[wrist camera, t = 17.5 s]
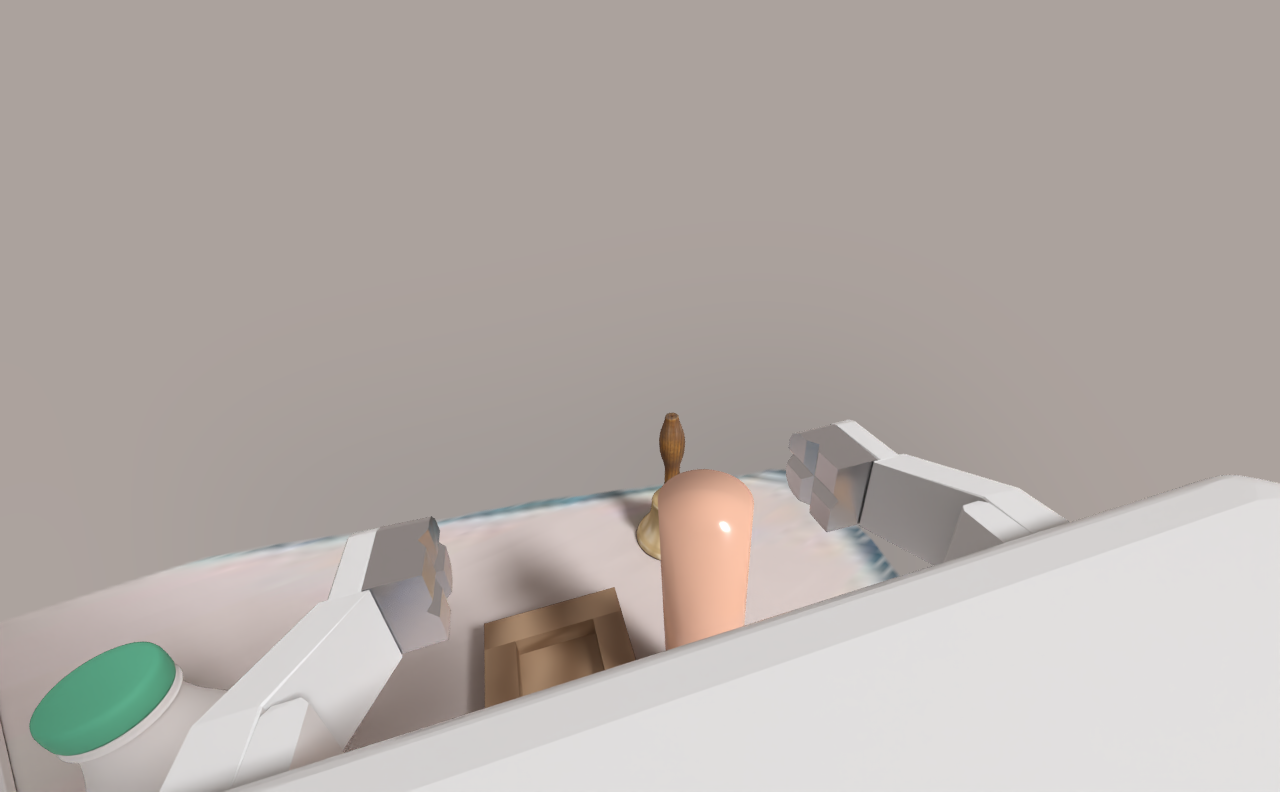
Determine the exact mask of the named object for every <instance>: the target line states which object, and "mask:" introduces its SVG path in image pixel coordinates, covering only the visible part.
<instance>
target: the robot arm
mask: <svg viewBox="0 0 1280 792" xmlns="http://www.w3.org/2000/svg"><path fill="white" fill-rule="evenodd" d="M789 449H790V450H791V452H792V453H793V455H792V456H791V458H790V459H789V461H788V462H787V466H786V477H787V481H788V485H789V487H790V489H791V491H792V493H793V494H794V495H795V496H796V498H797V499H798V500H799V501H802V502H804V503H806V504H809V505H810V514H811V515H812V516H813V517H814V519H815V520H816V521H817V522H818V523H819V524H820V525H821V527H822V528H823V529H824V530H825V531H826V532H830V531H834V530H838V529H842V528H846V527H850V526H854V525H858V524H859V526H860V527H862V528H864V529H866V530H868V531H870V532H872V533H874V534H875V535H877V536H879V537H881V538H883V539H885V540H887V541H889V542H891V543H892V544H894V545H896V546H898V547H900V548H902V549H904V550H906V551H908V552H909V553H911V554H913V555H915V556H917V557H919V558H921V559H923V560H924V561H926V562H928V563H930V564H932V565H934V566H931V567H928V568H925V569H921V570H918V571H915V572H912V573H909V574H906V575H902V576H899V577H896V578H893V579H890V580H887V581H883V582H880V583H877V584H874V585H871V586H868V587H865V588H861V589H858V590H855V591H852V592H849V593H846V594H843V595H839V596H836V597H833V598H830V599H827V600H824V601H821V602H818V603H814V604H811V605H808V606H805V607H802V608H799V609H796V610H792V611H789V612H786V613H783V614H780V615H777V616H774V617H770V618H767V619H764V620H761V621H758V622H755V623H752V624H748V625H745V626H742V627H739V628H736V629H733V630H730V631H726V632H723V633H720V634H717V635H714V636H711V637H708V638H704V639H701V640H698V641H695V642H692V643H689V644H685V645H682V646H679V647H676V648H673V649H670V650H667V651H663V652H660V653H657V654H654V655H651V656H648V657H645V658H641V659H638V660H635V661H632V662H629V663H626V664H623V665H619V666H616V667H613V668H610V669H607V670H604V671H601V672H597V673H594V674H591V675H588V676H585V677H582V678H579V679H575V680H572V681H569V682H566V683H563V684H560V685H557V686H553V687H550V688H547V689H544V690H541V691H538V692H535V693H532V694H528V695H525V696H522V697H519V698H516V699H513V700H510V701H506V702H503V703H500V704H497V705H494V706H491V707H488V708H484V709H481V710H478V711H475V712H472V713H469V714H466V715H462V716H459V717H456V718H453V719H450V720H447V721H444V722H440V723H437V724H434V725H431V726H428V727H425V728H422V729H418V730H415V731H412V732H409V733H406V734H403V735H400V736H396V737H393V738H390V739H387V740H384V741H381V742H378V743H374V744H371V745H368V746H365V747H362V748H359V749H356V750H352V751H349V752H346V753H345V752H344V751H343V750H344V748H345V747H346V745H347V744H348V742H349V740H350V739H351V737H352V736H353V734H354V733H355V731H356V729H357V728H358V726H359V725H360V723H361V722H362V720H363V718H364V717H365V715H366V714H367V712H368V711H369V709H370V707H371V706H372V704H373V703H374V701H375V700H376V698H377V696H378V695H379V693H380V692H381V690H382V689H383V687H384V685H385V684H386V682H387V681H388V679H389V677H390V676H391V674H392V673H393V671H394V670H395V668H396V666H397V665H398V663H399V662H400V660H401V659H402V657H403V656H402V654H404V653H407V652H411V651H414V650H417V649H420V648H424V647H427V646H430V645H433V644H436V643H440V642H443V641H446V640H449V629H450V614H451V610H450V607H449V604H448V602H447V598H448V596H449V595H450V594H451V592H452V570H451V563H450V559H449V555H448V552H447V549H446V546H444V545H442V544H441V543H439V535H440V530H439V527H438V525H437V522H436V520H435V518H433V517H432V516H431V517H426V518H422V519H417V520H412V521H407V522H402V523H398V524H393V525H388V526H383V527H380V528H375V529H371V530H366V531H361V532H357V533H353V534H352V535H351V536H350V537H349V538H348V539H347V542H346V545H345V548H344V551H343V554H342V557H341V560H340V563H339V566H338V569H337V572H336V575H335V578H334V582H333V585H332V588H331V591H330V594H329V597H328V600H327V601H323V602H319V603H318V604H317V605H316V606H315V607H314V608H313V609H312V610H311V611H310V612H309V613H308V614H307V615H306V616H305V617H303V618H302V619H301V620H300V621H299V622H298V623H297V624H296V625H295V626H294V627H293V628H292V629H291V630H290V631H289V632H288V633H287V634H286V635H285V636H284V637H283V638H282V639H281V640H280V641H279V642H278V643H277V644H276V645H275V646H274V647H273V648H272V649H271V650H270V651H269V652H267V653H266V654H265V655H264V656H263V657H262V658H261V659H260V660H259V661H258V662H257V663H256V664H255V665H254V666H253V667H252V668H251V669H250V670H249V671H248V672H247V673H246V674H245V675H244V676H243V677H242V678H241V679H240V680H239V681H238V682H237V683H236V684H235V685H234V686H233V687H232V688H230V689H229V690H228V691H227V692H226V693H225V694H224V695H223V696H222V697H221V698H220V699H219V700H218V701H217V702H216V703H215V704H214V705H213V706H212V707H211V708H210V709H209V710H208V711H207V712H206V713H205V714H204V715H203V716H202V717H201V718H200V719H199V720H198V721H197V722H196V723H195V724H193V725H192V726H191V728H190V730H189V732H188V734H187V736H186V738H185V740H184V742H183V744H182V747H181V749H180V751H179V753H178V755H177V757H176V759H175V761H174V763H173V765H172V767H171V769H170V771H169V773H168V775H167V777H166V779H165V781H164V783H163V785H162V787H161V789H160V792H1280V483H1276V482H1271V481H1266V480H1262V479H1257V478H1250V477H1245V476H1239V475H1221V476H1215V477H1211V478H1207V479H1203V480H1200V481H1197V482H1194V483H1191V484H1188V485H1185V486H1182V487H1179V488H1176V489H1172V490H1170V491H1166V492H1163V493H1160V494H1157V495H1154V496H1151V497H1147V498H1144V499H1141V500H1138V501H1135V502H1132V503H1129V504H1126V505H1123V506H1119V507H1116V508H1113V509H1110V510H1107V511H1104V512H1101V513H1098V514H1095V515H1092V516H1088V517H1085V518H1082V519H1079V520H1076V521H1072V522H1069V521H1068V520H1066V519H1065V518H1063V517H1061V516H1060V515H1059V514H1057V513H1055V512H1054V511H1052V510H1051V509H1049V508H1048V507H1046V506H1045V505H1043V504H1042V503H1040V502H1039V501H1037V500H1036V499H1034V498H1033V497H1031V496H1030V495H1028V494H1027V493H1025V492H1024V491H1022V490H1021V489H1019V488H1017V487H1014V486H1010V485H1007V484H1004V483H1000V482H997V481H994V480H990V479H987V478H983V477H980V476H977V475H974V474H970V473H967V472H963V471H960V470H957V469H953V468H950V467H946V466H943V465H940V464H937V463H933V462H930V461H927V460H923V459H920V458H917V457H913V456H910V455H906V454H901V455H898V454H897V453H895V452H894V451H893V450H891V449H890V448H889V447H887V446H886V445H885V444H884V443H882V442H881V441H880V440H878V439H877V438H876V437H874V436H873V435H872V434H871V433H869V432H868V431H867V430H865V429H864V428H863V427H861V426H860V425H858V423H856V422H855V421H852V420H845V421H841V422H837V423H833V424H830V425H827V426H823V427H819V428H814V429H810V430H806V431H802V432H797V433H794V434H792V436H791V438H790V440H789ZM0 792H16V788H15V784H14V779H13V775H12V770H11V766H10V762H9V757H8V753H7V749H6V744H5V740H4V736H3V731H2V727H1V723H0Z"/></svg>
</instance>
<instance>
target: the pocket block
mask: <svg viewBox="0 0 1280 792" xmlns="http://www.w3.org/2000/svg"><path fill="white" fill-rule="evenodd" d="M635 660H636V659H635V656H634V652H633V649H632V645H631V642H630V639H629V635H628V632H627V628H626V625H625V622H624V618H623V615H622V611H621V608H620V605H619V601H618V598H617V594H616V591H615V588H614V587H613V588H610V589H606V590H603V591H599V592H596V593H592V594H588V595H585V596H581V597H578V598H574V599H571V600H567V601H564V602H560V603H556V604H553V605H549V606H546V607H542V608H539V609H535V610H532V611H528V612H524V613H521V614H517V615H514V616H510V617H507V618H503V619H500V620H496V621H492V622H489V623H485V624H484V662H485V708H488V707H491V706H494V705H497V704H500V703H503V702H506V701H510V700H513V699H516V698H519V697H522V696H525V695H528V694H532V693H535V692H538V691H541V690H544V689H547V688H550V687H553V686H557V685H560V684H563V683H566V682H569V681H572V680H575V679H579V678H582V677H585V676H588V675H591V674H594V673H597V672H601V671H604V670H607V669H610V668H613V667H616V666H619V665H623V664H626V663H629V662H632V661H635Z"/></svg>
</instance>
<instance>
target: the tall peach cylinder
mask: <svg viewBox="0 0 1280 792" xmlns="http://www.w3.org/2000/svg"><path fill="white" fill-rule="evenodd" d="M753 509H754V501H753V496H752V494H751V492H750V490H749V489H748V488H747V486H746V485H745V484H744V483H743V482H741V481H740V480H739V479H737V478H735V477H734V476H732V475H729V474H727V473H724V472H720V471H715V470H708V469H699V470H691V471H686V472H683V473H680V474H678V475H676V476H674V477H672V478H671V479H669V480H668V481H667V482H666V483H665V484H664V485H663V486H662V488H661V490H660V492H659V495H658V516H659V535H660V554H661V573H662V592H663V611H664V631H665V650H666V651H667V650H670V649H673V648H676V647H679V646H682V645H685V644H689V643H692V642H695V641H698V640H701V639H704V638H708V637H711V636H714V635H717V634H720V633H723V632H726V631H730V630H733V629H736V628H739V627H742V626H744V622H745V610H746V597H747V584H748V572H749V559H750V547H751V534H752V521H753Z"/></svg>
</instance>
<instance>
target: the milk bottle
mask: <svg viewBox="0 0 1280 792" xmlns="http://www.w3.org/2000/svg"><path fill="white" fill-rule="evenodd" d="M226 692H227V690H221V689H213V688H205V687H199V686H196V685H193V684H190V683H188V682H185V681H183V673H182V670H181V668H180V667H179V666H178V665H176V664H174V661H173V660H172V659H171V657H170V656H169V655H168V654H167V653H166V652H165V651H164V650H163V649H162V648H161V647H160V646H158V645H156V644H153V643H150V642H134V643H129V644H126V645H122V646H119V647H116V648H114V649H111V650H109V651H106V652H104V653H102V654H100V655H98V656H96V657H94V658H92V659H91V660H89V661H87V662H86V663H84V664H82V665H81V666H79V667H78V668H76V669H75V670H74V671H72V672H71V673H70V674H68V675H67V676H66V677H65V678H63V679H62V680H61V681H60V682H59V683H58V684H56V685H55V686H54V687H53V688H52V689H51V690H50V691H49V692H48V694H47V695H46V696H45V697H44V698H43V699H42V701H41V702H40V703H39V705H38V706H37V708H36V709H35V711H34V713H33V715H32V717H31V720H30V726H29V727H30V732H31V734H32V737H33V738H34V740H36V741H37V742H38V743H39V744H40V745H41V746H42V747H44V748H45V749H47V750H48V751H50V752H51V753H54V754H56V755H57V757H58V758H59V759H60V760H61V761H64V762H67V763H79V765H80V767H81V769H82V772H83V775H84V779H85V788H86V792H160V789H161V787H162V785H163V783H164V781H165V779H166V777H167V775H168V773H169V771H170V769H171V767H172V765H173V763H174V761H175V759H176V757H177V755H178V753H179V751H180V749H181V747H182V744H183V742H184V740H185V738H186V736H187V734H188V732H189V730H190V728H191V726H192V725H193V724H195V723H196V722H197V721H198V720H199V719H200V718H201V717H202V716H203V715H204V714H205V713H206V712H207V711H208V710H209V709H210V708H211V707H212V706H213V705H214V704H215V703H216V702H217V701H218V700H219V699H220V698H221V697H222V696H223V695H224V694H225V693H226Z"/></svg>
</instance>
